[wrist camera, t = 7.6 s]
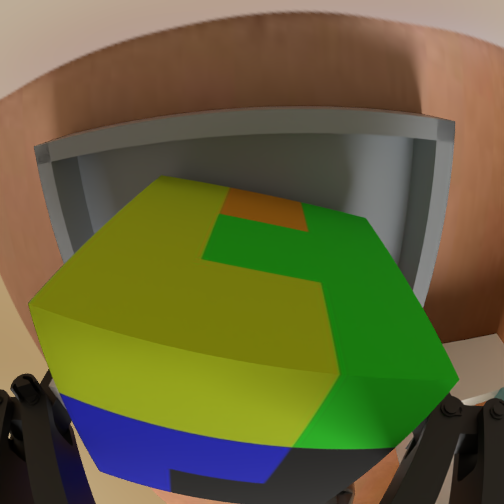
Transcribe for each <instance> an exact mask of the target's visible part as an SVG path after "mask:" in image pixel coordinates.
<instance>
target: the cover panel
mask: <svg viewBox="0 0 504 504" xmlns="http://www.w3.org/2000/svg"><path fill="white" fill-rule="evenodd" d="M442 345H443V347H444V349H445V350H446V352H447V354H448V356H449V358H450V360H451V362H452V365H453V367H454V369H455V371H456V373H457V375H458V377H459V379H460V380H459V381H458V382H457V383H456V385H455V386H454V387H453V388H452V389H451V391H450V394H451V395H452V396H455V397H456V398H458V399H460V400H461V401H462V403H463V404H464V405H469V406H471V405H475V404H478V403H481V402H484V401H487V400H490V399H491V398H499V399H502V400H503V401H504V344H503V342H502V341H501V339H500V338H499V336H498V335H497V333H496V334H492V335H487V336H482V337H477V338H472V339H467V340H461V341H455V342H450V343H444V344H442Z"/></svg>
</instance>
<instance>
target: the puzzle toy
mask: <svg viewBox="0 0 504 504" xmlns="http://www.w3.org/2000/svg"><path fill="white" fill-rule="evenodd" d="M28 306H29V309H30V313H31V316H32V320H33V323H34V326H35V330H36V333H37V336H38V339H39V342H40V345H41V348H42V351H43V354H44V356H45V359H46V362H47V364H48V367H49V370H50V372H51V375H52V377H53V380H54V382H55V385H56V387H57V389H58V392H59V394H60V396H61V399H62V401H63V403H64V405H65V407H66V410H67V412H68V414H69V416H70V418H71V420H72V422H73V424H74V426H75V428H76V430H77V432H78V434H79V436H80V438H81V439H82V441H83V443H84V445H85V447H86V449H87V450H88V452H89V454H90V456H91V458H92V459H93V461H94V463H95V464H96V466H97V468H98V469H99V471H101V472H103V473H106V474H109V475H112V476H115V477H118V478H121V479H124V480H127V481H131V482H134V483H138V484H141V485H145V486H148V487H152V488H156V489H160V490H164V491H168V492H173V493H177V494H182V495H187V496H192V497H197V498H203V499H209V500H216V501H223V502H230V503H239V504H324V503H325V502H327V501H328V500H330V499H331V498H333V497H334V496H336V495H337V494H338V493H340V492H341V491H343V490H344V489H345V488H347V487H348V486H349V485H351V484H352V483H353V482H355V481H356V480H357V479H359V478H360V477H361V476H362V475H364V474H365V473H366V472H367V471H369V470H370V469H371V468H372V467H373V466H375V465H376V464H377V463H378V462H379V461H381V460H382V459H383V458H384V457H385V456H386V455H388V454H389V453H390V452H391V451H392V450H393V449H394V448H395V447H396V446H398V445H399V444H400V443H401V442H402V441H403V440H404V439H405V438H406V437H407V436H408V435H409V434H410V433H411V432H412V431H413V430H414V429H415V428H416V427H417V426H418V425H419V424H420V423H421V422H422V421H423V420H424V419H425V418H426V417H427V416H428V415H429V414H430V413H431V412H432V411H433V410H434V409H435V408H436V406H437V405H438V404H439V403H440V402H441V401H442V400H443V399H444V397H445V396H446V395H447V394H448V393H449V392H450V391H451V389H452V388H453V387H454V386H455V385H456V383H457V382H458V381H459V380H460V379H459V377H458V375H457V373H456V371H455V369H454V367H453V365H452V362H451V360H450V358H449V356H448V354H447V352H446V350H445V349H444V347H443V345H442V343H441V341H440V339H439V337H438V335H437V333H436V331H435V329H434V328H433V326H432V324H431V322H430V320H429V318H428V317H427V315H426V313H425V311H424V309H423V308H422V306H421V304H420V302H419V301H418V299H417V297H416V296H415V294H414V292H413V290H412V289H411V287H410V285H409V284H408V282H407V280H406V279H405V277H404V275H403V274H402V272H401V271H400V269H399V267H398V266H397V264H396V263H395V261H394V259H393V258H392V256H391V255H390V253H389V252H388V250H387V248H386V247H385V245H384V244H383V242H382V241H381V239H380V238H379V236H378V235H377V233H376V232H375V230H374V229H373V227H372V226H371V224H370V223H369V222H368V220H367V219H366V218H364V217H360V216H356V215H352V214H348V213H344V212H340V211H336V210H332V209H328V208H324V207H319V206H315V205H311V204H306V203H302V202H298V201H293V200H289V199H284V198H280V197H275V196H270V195H265V194H261V193H256V192H251V191H246V190H241V189H236V188H231V187H226V186H220V185H215V184H210V183H204V182H199V181H193V180H187V179H181V178H176V177H170V176H163V175H161V176H160V177H158V178H157V179H156V180H155V181H153V182H152V183H151V184H150V185H149V186H147V187H146V188H145V189H144V190H143V191H142V192H140V193H139V194H138V195H137V196H136V197H135V198H133V199H132V200H131V201H130V202H129V203H128V204H127V205H125V206H124V207H123V208H122V209H121V210H120V211H119V212H118V213H117V214H115V215H114V216H113V217H112V218H111V219H110V220H109V221H108V222H107V223H106V224H105V225H103V226H102V227H101V228H100V229H99V230H98V231H97V232H96V233H95V234H94V235H93V236H92V237H91V238H90V239H89V240H88V241H87V242H86V243H85V244H84V245H83V246H82V247H81V248H80V249H79V250H78V251H77V252H76V253H75V254H74V255H73V256H72V257H71V258H70V259H69V260H68V261H67V262H66V263H65V264H64V265H63V266H62V267H61V268H60V269H59V270H58V271H57V272H56V273H55V274H54V275H53V276H52V277H51V278H50V279H49V281H48V282H47V283H46V284H45V285H44V286H43V287H42V288H41V289H40V290H39V291H38V293H37V294H36V295H35V296H34V297H33V298H32V299H31V300H30V302H29V303H28Z"/></svg>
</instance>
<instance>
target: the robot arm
mask: <svg viewBox="0 0 504 504" xmlns="http://www.w3.org/2000/svg"><path fill="white" fill-rule="evenodd" d="M10 389H11V391H12V392H13V393H14V395H15V396H16V397H10V396H9V395H8V394H7V392H6V391H4V390H0V504H96V503H95V501H94V498H93V495H92V492H91V489H90V487H89V484H88V480H87V477H86V474H85V471H84V468H83V464H82V461H81V458H80V455H79V451H78V447H77V444H76V439H75V435H74V431H73V428H72V426H71V425H70V423H71V421H72V420H71V418H70V416H69V414H68V412H67V410H66V407H65V405H64V403H63V401H62V399H61V396H60V394H59V392H58V389H57V387H56V385H55V382H54V380H53V377H52V375H51V372H50V370H49V369H48V371H47V373H46V375H45V376H44V378H43V380H42V381H41V383H40V384H39V383H38V381H37V380H36V378H35V377H34V376H33V375H32V374H22V375H20V376H18V377H17V378H16V379H15V380H14V381H13V383H12V384H11V388H10ZM9 433H10V434H11V437H10V439H9V438H8V436H9ZM412 433H413V436H414V437H413V438H412V440H411V441H410V442H409V444H408V445H407V447H406V448H405V449H407V450H406V453H405V455H404V457H403V459H402V461H401V463H400V465H399V467H398V469H397V471H396V473H395V475H394V477H393V479H392V481H391V483H390V485H389V487H388V489H387V491H386V492H385V494H384V496H383V498H382V500H381V501H380V503H379V504H435V503H436V500H437V498H438V496H439V493H440V491H441V488H442V486H443V483H444V481H445V478H446V475H447V473H448V470H449V467H450V464H451V461H452V458H453V455H454V463H453V474H452V483H451V491H450V498H449V504H504V401H503V400H502V399H499V398H491V399H490V400H488V401H487V402H486V403H485V404H484V406H469V405H464V404H463V403H462V401H461V400H460V399H458V398H456V397H455V396H452V395H451V394H450V392H449V393H448V394H447V395H446V396H445V397H444V399H443V400H442V401H441V402H440V403H439V404H438V405H437V406H436V408H435V409H434V410H433V411H432V412H431V413H430V414H429V415H428V416H427V417H426V418H425V419H424V420H423V421H422V422H421V423H420V424H419V425H418V426H417V427H416V428H415V429H414V430H413V431H412ZM354 496H355V488H354V482H353V483H352V484H351V485H349V486H348V487H347V488H345V489H344V490H343V491H341V492H340V493H338V494H337V495H336V496H334V497H333V498H331V499H330V500H328V501H327V502H325V503H324V504H353V500H354Z"/></svg>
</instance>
